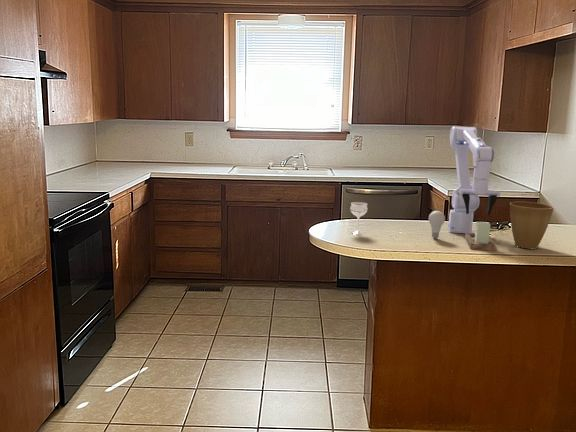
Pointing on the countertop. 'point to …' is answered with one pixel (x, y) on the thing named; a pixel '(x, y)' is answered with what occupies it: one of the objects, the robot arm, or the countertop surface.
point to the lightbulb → (436, 222)
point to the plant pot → (529, 222)
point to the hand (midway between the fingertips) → (477, 214)
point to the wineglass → (358, 212)
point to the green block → (482, 232)
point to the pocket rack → (472, 245)
